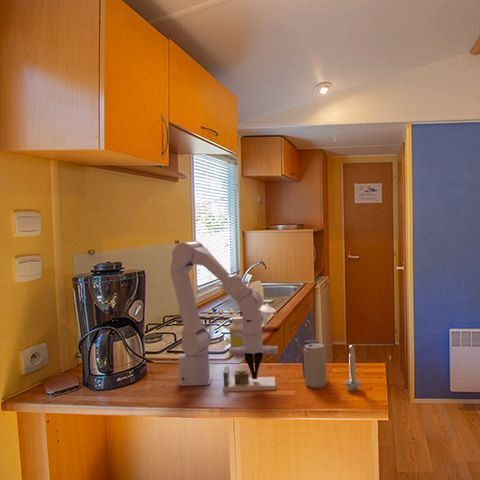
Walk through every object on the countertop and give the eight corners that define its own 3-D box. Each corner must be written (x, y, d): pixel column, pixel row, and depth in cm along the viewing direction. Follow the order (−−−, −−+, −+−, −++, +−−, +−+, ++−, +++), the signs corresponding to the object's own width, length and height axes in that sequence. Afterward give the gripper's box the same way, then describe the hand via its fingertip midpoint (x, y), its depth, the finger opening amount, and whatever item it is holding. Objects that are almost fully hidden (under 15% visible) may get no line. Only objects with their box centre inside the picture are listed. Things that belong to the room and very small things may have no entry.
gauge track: (222, 391, 136) (222, 387, 136) (224, 382, 144) (224, 378, 144) (275, 389, 136) (275, 385, 136) (274, 380, 144) (274, 376, 144)
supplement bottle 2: (322, 380, 142) (320, 343, 142) (302, 379, 143) (301, 343, 143) (322, 373, 148) (321, 338, 148) (303, 373, 149) (302, 338, 149)
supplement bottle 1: (232, 348, 185) (230, 316, 184) (248, 347, 184) (247, 315, 183) (229, 352, 178) (228, 319, 178) (246, 352, 177) (245, 319, 177)
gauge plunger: (234, 385, 137) (234, 374, 137) (235, 380, 142) (235, 369, 142) (248, 385, 137) (247, 374, 137) (248, 379, 142) (248, 369, 142)
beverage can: (313, 380, 142) (311, 341, 142) (331, 384, 138) (329, 344, 137) (300, 386, 138) (298, 345, 137) (318, 390, 133) (316, 349, 133)
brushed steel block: (223, 386, 137) (223, 372, 137) (225, 379, 143) (224, 366, 143) (228, 386, 137) (227, 372, 137) (229, 379, 143) (228, 366, 143)
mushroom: (279, 326, 221) (278, 300, 220) (272, 331, 211) (271, 304, 210) (259, 325, 224) (257, 300, 224) (251, 330, 215) (249, 304, 214)
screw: (342, 392, 131) (346, 386, 135) (360, 394, 129) (363, 388, 133) (340, 346, 131) (344, 342, 135) (358, 347, 129) (361, 343, 133)
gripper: (227, 337, 136) (229, 383, 136) (277, 335, 135) (279, 381, 135) (229, 331, 143) (231, 375, 143) (276, 329, 142) (278, 373, 143)
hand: (254, 377), depth 140 cm, fingers closed
